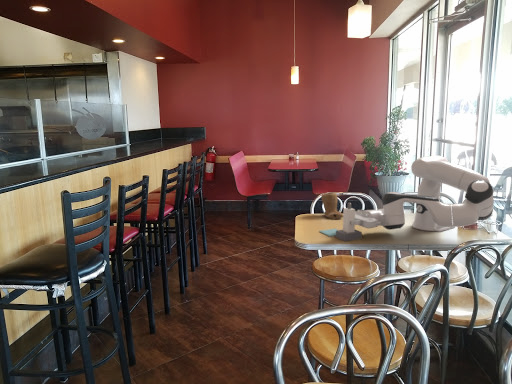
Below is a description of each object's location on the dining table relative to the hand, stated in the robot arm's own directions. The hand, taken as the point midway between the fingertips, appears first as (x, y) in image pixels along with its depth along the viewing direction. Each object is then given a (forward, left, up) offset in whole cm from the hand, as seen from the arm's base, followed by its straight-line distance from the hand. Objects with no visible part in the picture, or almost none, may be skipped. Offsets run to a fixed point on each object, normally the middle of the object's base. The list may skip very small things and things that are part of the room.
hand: (347, 221), depth 203 cm
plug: (-1, 0, -9) cm, 9 cm away
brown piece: (-19, -42, -9) cm, 47 cm away
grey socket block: (-1, 0, -9) cm, 9 cm away
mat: (+1, -11, -9) cm, 14 cm away
